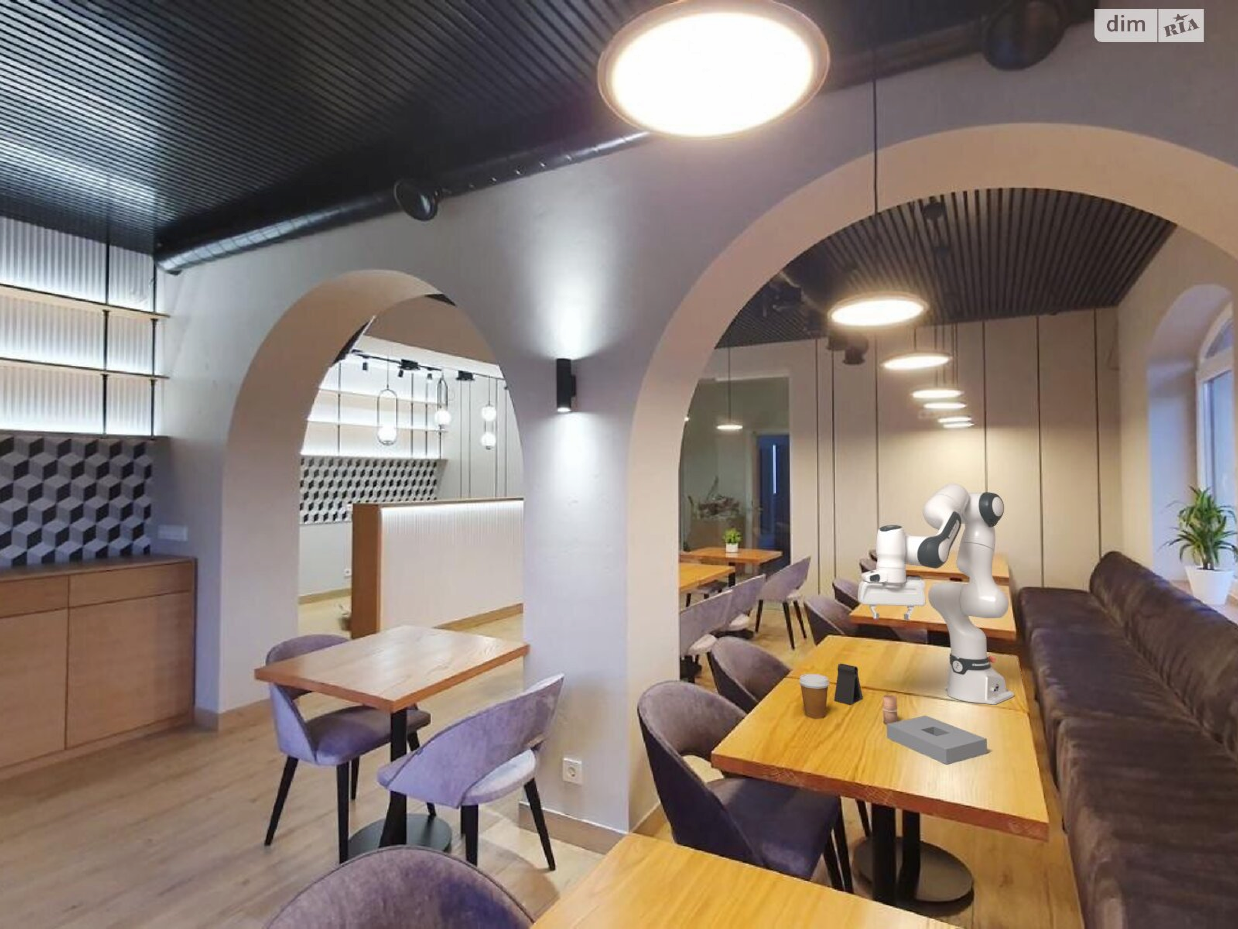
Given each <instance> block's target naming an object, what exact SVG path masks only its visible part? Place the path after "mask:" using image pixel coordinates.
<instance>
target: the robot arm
mask: <svg viewBox="0 0 1238 929" xmlns="http://www.w3.org/2000/svg"><path fill="white" fill-rule="evenodd" d="M1004 514H1005V504H1004V501H1003V499H1002V497H1001V496H1000V495H999V494H997V493H995V492H989V491H985V492H968V491H967V489H966V488H965V487H963V486H962V485H961V484H957V483H949V484H946V485H944V486H943V487H941V488H939V489H938V490H937V491H936V492H935V493H934V494H933V495H932V496H931V497H930V498H929V499H928V500H927V501H926V502H925V503H924V506H923V508H922V516H923V518H924V520H925V522H926V523H927V525H929V526H931V527H932V528H934V529H935V530H937V533H936V534H935V535H927V536H923V535H910V534H908V533H906V532H905V530H904V528H903V526H901V525H898V524H891V525H884V526H881V527H880V528H878V529H877V534H876V541H875V554H876V560H877V562H876V563H875V564H876V565H875V568H876V569H874V570H870V571H866V572H862V573H861V574H860V575H861V576H860V577H861V580H862V581H860V582H859V585H858V589H857V601H858V602H859V603H860V604H861V605H867V606H869V609H870V611H871V612H872V617H873V619H874V620H879V619H880V613H879V612H877V611H876V610H875V609H877V608H876V606H900V607H901V606H903V607H906V608H907V609H908V610H907V612H906V613H903V620H904V621H910V620H911V615H912V613H913V611H914V610H915V608H914V607H924V606H925V605H926V594H925V588H926V581H925V580H924V579H923V578H922V577H920V576H907V565H909V566H915V567H917V566H918V567H924V568H931V569H936V570H937V569H939V568H941V567H942V566H944V564H946V563H947V561H948V559H949V556H950V551H951V548H952V546H953V544H954V542H955V541H956V538H957V537H958V535H959V532H960V530H961V527H962V524H963V525H964V530H963V533H962V534H961V535H962V536H961V538H960V543H959V546H958V551H957V552H958V553H957V556H956V560H955V561H956V562H955V564H956V568H957V570H958V571H959V572H960V573H962V574H963V575H965V576H966V577H968V578H969V581H968V583H962V582H961V583H959V582H952V581H945V582H943V581H942V582H936V583H934V584H932V585H931V587H929V590H928V594H927V598H928V602H929V604H930V606H931V607H932V609H934V610H935V611H936V612H937V613H939V615H940V616H941V617H942V619H943V620H944V622H945V624H946V626H947V629H948V633H949V641H950V653H949V664H950V666H949V667H948V673H947V674H948V676H947V685H945V691H946V694H947V695H948V696H949V697H951V698H953V699H956V700H959V701H963V702H969V703H976V704H977V703H980V704H989V705H997V704H1000V703H1002V702H1004V701H1006V700H1008V699H1011V698H1014V697H1015V693H1014V692H1013V691H1011V690H1009V689H1007V688H1006V687H1007V684H1006V680H1005V677H1004V676H1003V675H1001V674H1000V673H998V671H996V670H995V669H994V668H993V667H992V665H991V663H992V664H995V663H996V661H997V660H996V657H995V656H990V655H988V652H987V648H988V646H987V636H986V634H985V633H984V631H983V630H982V629H981V628H980V627H978V626H976V625H975V624H974V623H973V622H972V621H971V619H970V617H975V618H980V619H1000V618H1003V617H1004V616H1005V615H1006V614H1007V612H1008V610H1009V606H1010V604H1009V598H1008V597H1007V595H1006V593H1005V592H1004V591H1003V590H1002V589H1001V588H1000V587H999V586H998V585H997V583H996V581H995V579H994V577H993V560H994V554H995V551H996V550H995V549H996V528H995V526H997V525H998V523H999V521H1000V520H1001V519H1002V517H1003V515H1004Z"/></svg>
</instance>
